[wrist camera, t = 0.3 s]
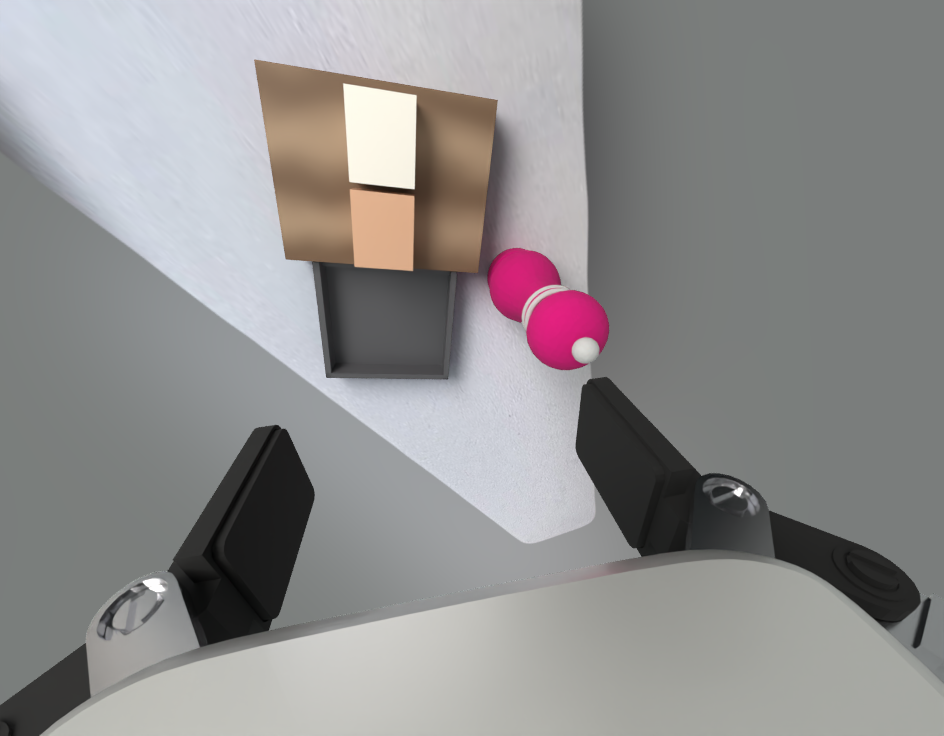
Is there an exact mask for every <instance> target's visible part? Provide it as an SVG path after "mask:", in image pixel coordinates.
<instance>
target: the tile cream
mask: <svg viewBox="0 0 944 736" xmlns="http://www.w3.org/2000/svg"><path fill="white" fill-rule="evenodd" d="M343 88H344V104H345V120H346V137H347V153H348V169H349V182H353V183H362V184H371V185H380V186H389V187H398V188H407V189H415V147H416V99H417V95H412V94H405V93H399V92H393V91H387V90H381V89H375V88H368V87H362V86H356V85H350V84H344V83H343Z"/></svg>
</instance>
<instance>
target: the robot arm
mask: <svg viewBox="0 0 944 736" xmlns="http://www.w3.org/2000/svg"><path fill="white" fill-rule="evenodd" d="M576 452H577V455H578V457H579V459H580V461H581V462H582V464H583V466H584V467H585V469H586V471H587V473H588V474H589V476H590V478H591V480H592V481H593V483H594V485H595V487H596V488H597V490H598V492H599V493H600V495H601V497H602V499H603V500H604V502H605V504H606V506H607V507H608V509H609V511H610V512H611V514H612V516H613V517H614V519H615V521H616V523H617V524H618V526H619V528H620V530H621V531H622V533H623V535H624V537H625V538H626V540H627V542H628V543H629V545H630V546H631V547H632V548H637V550H638V551H639V553H640V555H641V556H642V557H638V558H633V559H627V560H622V561H616V562H610V563H604V564H599V565H594V566H589V567H583V568H578V569H573V570H568V571H563V572H557V573H552V574H547V575H542V576H537V577H532V578H527V579H521V580H516V581H511V582H506V583H501V584H496V585H490V586H485V587H481V588H475V589H470V590H465V591H460V592H455V593H450V594H445V595H440V596H435V597H430V598H425V599H420V600H415V601H411V602H405V603H400V604H395V605H390V606H385V607H380V608H376V609H370V610H365V611H361V612H356V613H351V614H346V615H341V616H336V617H331V618H326V619H321V620H316V621H311V622H306V623H302V624H297V625H293V626H288V627H283V628H279V629H275V630H270V631H269V628H270V625H271V622H272V619H274V618H276V617H277V616H278V615H279V613H280V610H281V607H282V604H283V600H284V597H285V594H286V591H287V587H288V584H289V581H290V577H291V574H292V571H293V567H294V564H295V561H296V558H297V554H298V551H299V548H300V544H301V541H302V538H303V534H304V532H305V528H306V525H307V521H308V518H309V515H310V512H311V508H312V505H313V502H314V496H315V494H314V488H313V486H312V484H311V482H310V479H309V477H308V475H307V473H306V471H305V468H304V466H303V464H302V462H301V460H300V458H299V455H298V453H297V451H296V449H295V447H294V444H293V442H292V440H291V438H290V436H289V433H288V432H287V430H286V429H281V428H280V427H279V426H278V425H273V426H266V427H259V428H256V429H254V431H253V432H252V434H251V435H250V437H249V438H248V440H247V442H246V443H245V445H244V446H243V448H242V450H241V451H240V453H239V454H238V456H237V458H236V459H235V461H234V463H233V464H232V466H231V467H230V469H229V471H228V472H227V474H226V476H225V477H224V479H223V480H222V482H221V483H220V485H219V487H218V488H217V490H216V491H215V493H214V495H213V496H212V498H211V500H210V501H209V503H208V504H207V506H206V508H205V509H204V511H203V512H202V514H201V515H200V517H199V519H198V520H197V522H196V524H195V525H194V527H193V528H192V530H191V532H190V533H189V535H188V537H187V538H186V540H185V541H184V543H183V544H182V546H181V548H180V549H179V551H178V553H177V554H176V556H175V557H174V559H173V560H174V562H173V563H172V565H171V567H170V568H169V570H168V572H166V571H161V572H154V573H151V574H148V575H145V576H142V577H140V578H138V579H136V580H135V581H133V582H131V583H129V584H128V585H126V586H125V587H124V588H122V589H121V590H120V591H118V592H117V593H115V594H114V595H113V596H112V597H111V598H110V599H109V600H108V601H107V602H106V603H105V604H104V605H103V606H102V607H101V609H100V610H99V611H98V613H97V614H96V615H95V616H94V618H93V620H92V622H91V623H90V626H89V627H88V629H87V635H86V643H85V644H84V645H82V646H81V647H79V648H78V649H77V650H75V651H74V652H73V653H71V654H70V655H69V656H67V657H66V658H64V659H63V660H62V661H60V662H59V663H58V664H56V665H55V666H53V667H52V668H51V669H49V670H48V671H47V672H45V673H44V674H42V675H41V676H40V677H38V678H37V679H36V680H34V681H33V682H32V683H30V684H29V685H27V686H26V687H25V688H23V689H22V690H21V691H19V692H18V693H17V694H15V695H14V696H12V697H11V698H10V699H8V700H7V701H6V702H4V703H3V704H1V705H0V736H944V599H943V598H941V597H939V596H937V595H936V594H934V593H933V594H932V595H931V596H929V597H927V596H925V595H923V594H921V593H919V591H918V589H917V588H916V586H915V584H914V582H913V581H912V580H911V579H910V578H909V577H908V576H907V575H906V574H905V572H903V571H902V570H901V569H900V568H899V567H897V566H896V565H895V564H894V563H893V562H891V561H890V560H888V559H887V558H885V557H883V556H882V555H880V554H878V553H877V552H874V551H873V550H870V549H868V548H866V547H864V546H862V545H859V544H856V543H854V542H851V541H848V540H846V539H843V538H840V537H838V536H835V535H832V534H830V533H827V532H824V531H822V530H819V529H817V528H814V527H811V526H808V525H806V524H803V523H800V522H798V521H795V520H793V519H790V518H787V517H784V516H782V515H779V514H777V513H774V512H772V511H769V509H768V506H767V503H766V501H765V500H764V498H763V497H762V496H761V494H760V493H759V492H758V491H756V490H755V489H754V488H753V487H752V486H750V485H749V484H747V483H745V482H744V481H742V480H740V479H737V478H734V477H732V476H729V475H725V474H720V473H709V474H705V475H702V476H701V475H700V474H699V473H698V472H697V471H696V469H695V468H694V467H693V466H692V465H691V464H690V463H689V462H688V461H687V460H686V459H685V458H684V457H683V456H682V455H681V454H680V453H679V452H678V451H677V449H676V448H675V447H674V446H673V445H672V444H671V443H670V442H669V441H668V440H667V439H666V438H665V437H664V436H663V435H662V434H661V433H660V432H659V430H658V429H657V428H656V427H655V426H654V425H653V424H652V423H651V422H650V421H649V420H648V419H647V418H646V417H645V416H644V415H643V414H642V413H641V412H640V411H639V410H638V409H637V408H636V407H635V406H634V405H633V403H632V402H631V401H630V400H629V399H628V398H627V397H626V396H625V395H624V394H623V393H622V392H621V391H620V390H619V389H618V388H617V387H616V385H614V383H613V382H612V381H611V380H610V379H609V378H607V377H603V378H595V379H589V380H588V382H587V384H585V385H583V387H582V393H581V402H580V411H579V419H578V428H577V437H576Z"/></svg>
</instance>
